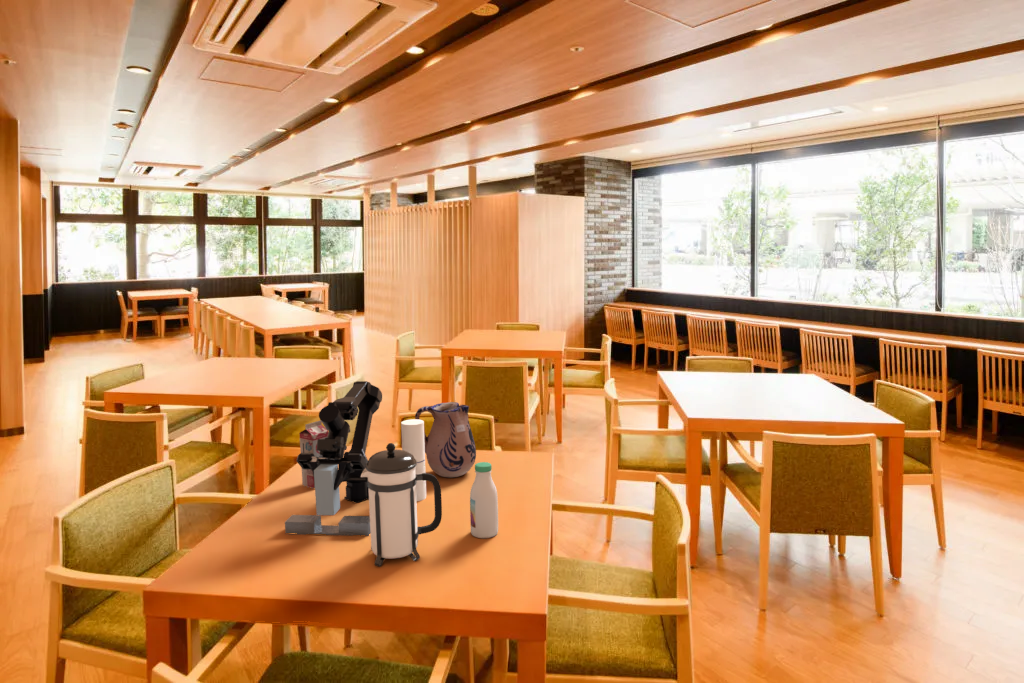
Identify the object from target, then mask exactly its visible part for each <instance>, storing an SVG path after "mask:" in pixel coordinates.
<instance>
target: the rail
mask: <svg viewBox="0 0 1024 683" xmlns="http://www.w3.org/2000/svg"><path fill="white" fill-rule="evenodd" d="M284 530H285V533H284V534H286V533H297V534H296V535H306V534H326V535H325V536H353V535H360V536H361V535H365V536H364V537H368V536H370V535H371V532H370V515H344V516H343V517H342V518H341V519H340V520H339V521H338V525H332V524H331V525H325V524H324V525H323V524H322V515H317V514H314V515H312V514H291V515H290V516H289V517H288V518H287V519H286V520H285V521H284ZM369 534H370V535H369Z"/></svg>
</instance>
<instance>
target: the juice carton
mask: <svg viewBox="0 0 1024 683" xmlns="http://www.w3.org/2000/svg"><path fill="white" fill-rule="evenodd" d="M304 426H305V427H304V428H305V429H304V430H301V431H300V432H299V447H300V453H313V455H314V456H315V457H323V455H320V451H316V450H317V440H318V439H325V438H327V436H328V432H329V431H328V430H327V429H326V428H325V426H324V425H323V423H322V422H321V420H320V419H319V420H317V421H314V422H310V423H307V424H305V425H304ZM301 482H302V483H301V484H302V486H303V485H304V486H303V487H305V486H307V487H306V488H309V487H311V488H310V489H313V488H315V485H314V476H313V471H312V470H310V469H302V468H301Z"/></svg>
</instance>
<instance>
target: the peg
mask: <svg viewBox="0 0 1024 683" xmlns="http://www.w3.org/2000/svg"><path fill="white" fill-rule="evenodd" d="M338 465H339V464H320V465H319V466H318V467H317V468H316V469H315V470H314V481H315V489H314V494H315V495H314V496H315V507H316V508H315V510H316V515H321V516H335V515H336V514H337V513H338V511H340V509H341V498H340V496H341V495H340V486H339V487H338V488H337V489H336V490H334V483H335V479H336V476H337V472H338Z"/></svg>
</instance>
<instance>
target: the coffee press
mask: <svg viewBox="0 0 1024 683" xmlns="http://www.w3.org/2000/svg"><path fill="white" fill-rule="evenodd" d="M385 448H386V449H385V450H381V451H378V452H376V453H373V454H372V455H371V456H369V458H368V462H367V463H366V468H365V469H364V470H363V472H362V474H361V477H368V478H367V487H368V489H369V499H368V505H369V506H368V507H369V509H368V511H369V516H370V532H371V533H370V549H371V551H372V553H373V554H374V555H375V556H376V558H375V561H374V566H376V567H379V568H381V567H382V566H383V564H384V562H385V560H386V559H389V560H390V559H392V560H393V559H400V558H404V557H407V556H409V558H411V560H412V561H413V562H416V561H418V560H419V559H420V558H421V556H420V554H419V552H418V550H417V548H418V545H419V540H418V539H419V536H420V535H423V534H428V533H432V532H433V531H435V530H437V528H438V527H439V526H440V524H441V521H442V519H443V518H442V517H443V509H442V508H443V507H442V506H443V504H442V486H441V484H440V481H439V480H438V478H437V477H436V476H435V475H434V474H433V473H432V474H431V473H428V472H426V473H422V474H416V473H415V467H416V465H417V461H416V459H414V456H413V455H412V454H411V453H409V452H407V451H404V450H402V449H396V445H395V444H394V443H393V442H390V443H387V445H386V447H385ZM418 480H423V481H424V480H426V482H430V483H431V484H432V485H433V496H434V499H433V500H434V519H433V521H432V522H431V523H430V524H428V525H424V526H418V510H417V509H418V508H417V507H418V505H417V502H418V501H416V483H417V481H418Z"/></svg>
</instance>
